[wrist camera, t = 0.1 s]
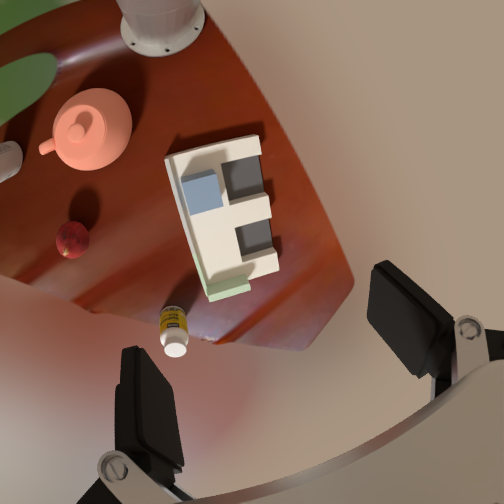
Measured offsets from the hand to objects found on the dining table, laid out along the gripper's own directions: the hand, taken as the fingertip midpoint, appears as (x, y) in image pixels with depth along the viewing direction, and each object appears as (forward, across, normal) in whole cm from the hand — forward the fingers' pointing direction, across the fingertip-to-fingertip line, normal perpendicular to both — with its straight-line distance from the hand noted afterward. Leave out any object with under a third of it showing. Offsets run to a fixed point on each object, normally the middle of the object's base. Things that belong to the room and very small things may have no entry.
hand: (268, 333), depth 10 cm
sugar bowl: (+37, +14, -10) cm, 41 cm away
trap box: (+37, -3, +10) cm, 38 cm away
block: (+34, 0, +4) cm, 34 cm away
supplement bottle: (+37, +13, +28) cm, 48 cm away
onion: (+37, +22, +4) cm, 43 cm away
